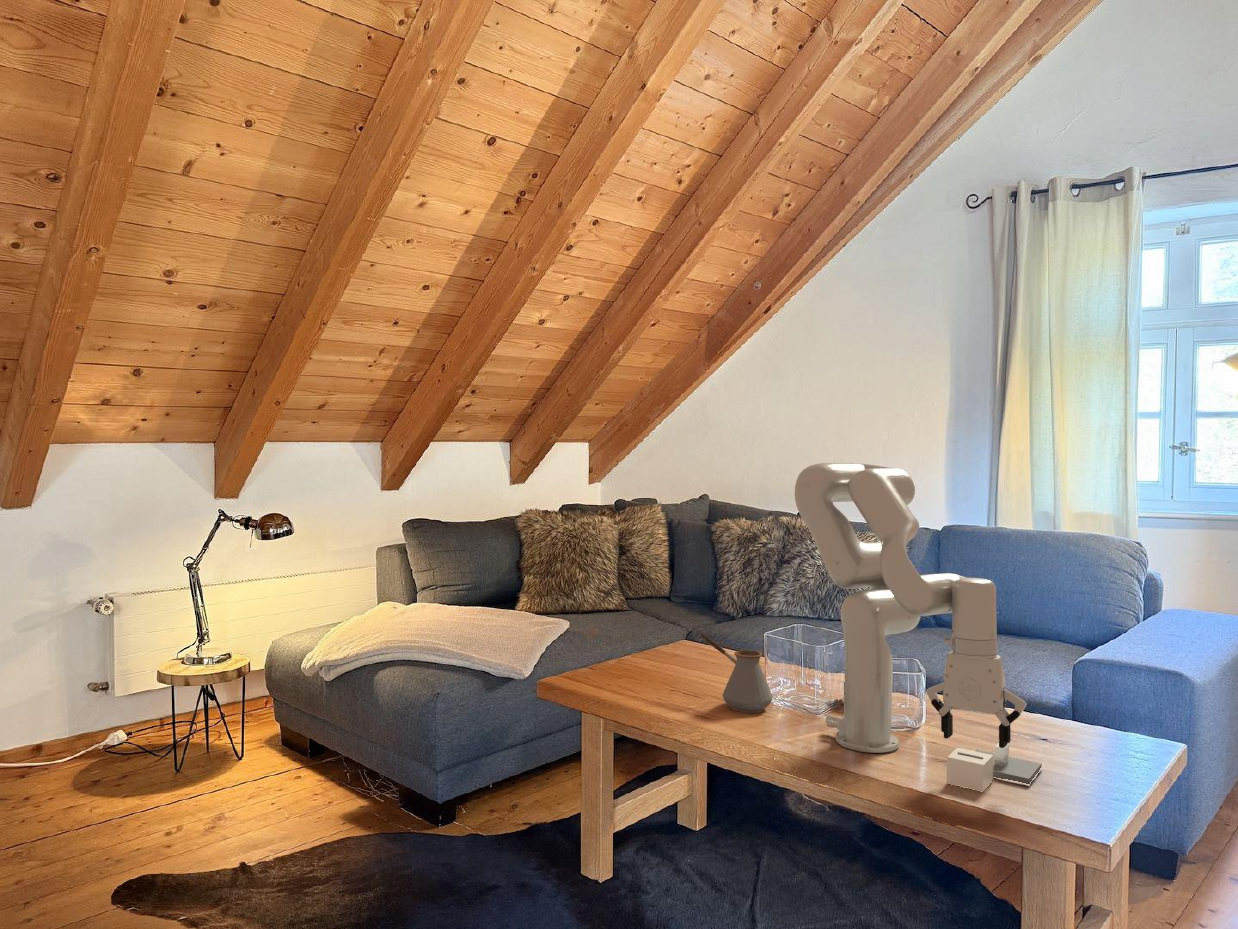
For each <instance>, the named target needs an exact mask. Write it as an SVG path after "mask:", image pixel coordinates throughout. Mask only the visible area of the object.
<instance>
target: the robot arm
mask: <svg viewBox="0 0 1238 929" xmlns="http://www.w3.org/2000/svg"><path fill="white" fill-rule="evenodd" d="M915 495H916V486H915V483H914V481H913V479H912V477H911V476H910V475H909V474H908V473H907V472H906V471H904V470H903V469H900V468H899V467H888V466H882V465H881V466H880V465H874V464H867V463H863V462H862V463H860V462H826V463H825V462H824V463H823V462H822V463H815V464H812V465H809V466H807V467H805V468H804V469H803V470H801V472H800V473H798V476H797V479H796V480H795V484H794V499H795V500H794V501H795V504H796V508H797V511H798V513H799V515H800V517H801V519H802V521H803V522H804V524H805V525H806V527H807V529H808V530H809V532H810V534H811V535H812V538H813V541H814V542H815V545H816V548H817V550H818V551H819V552H818V553H819V555H820V557H821V559H822V561H823V564H824V566H825V568H826V571H827V573H828V575H829V576H830V579H831V580H832V582H833V583H834V584H835V586H837V587H838V588H841V589H845V590H846V589H848V590H851V589H852V590H853V589H855V590H856V589H863V590H859V591H856V592H853V593H851V594H850V595H848V596H847V597H846V598H845V599H844V601H843V603H842V604H841V607H840V608H841V609H840V621H841V625H842V626H841V627H842V631H843V632H842V633H843V641H844V669H845V674H844V681H845V682H844V681H843V683H844V697H843V716H841V717H840V716H836V715H832V714H827V715H826V717H825V723H826V726H827V727H828V728H829V727H830V728H836V729H837V730H838V731H837V732H836V733H835V742H836V743H837V744H838V745H839V746H841V747H844V748H846V749H848V750H852V751H856V752H862V753H869V754H870V753H871V754H872V753H873V754H882V753H884V754H885V753H891V752H894V751H896V750H897V749H898V748H899V747H900V739H898V737H897V736H895V735H894V734H892V717H893V716H892V714H893V713H892V710H893V708H892V707H893V668H894V667H893V666H894V665H893V664H894V661H893V660H894V659H893V654H892V651H891V648H890V646H889V643H888V641H887V639H886V637H887V636H889V635H896V634H902V633H907V632H909V631H912V630H914V628H916V627H917V626H918V624H919V622H920V620H921V617H927V616H934V615H935V616H936V615H944V614H951V622H952V624H951V627H952V629H951V631H952V634H951V636H950V637H944V645H945V646H949V647H950V650H951V651H948V652H947V656H946V660H945V665H944V672H943V673H944V677H943V682H941V683H938V684H936V685H933V686H930V687H928V688H927V689H926V690H925V692H926V694H927V697H928V699H929V700H930V704H931V706H932V707H933V708H934V709H935V710H936V711H937V714H938V715H939V716H940V732H942V733H943V738H944V739H946V740H947V739H950V737H952V736H953V733H954V732H953V730H954V728H953V727H954V724H953V722H954V720H953V719H954V716H953V714H952V713H951V711H952V710H958V711H963V712H969V713H971V712H972V713H977V714H984V715H994V716H995V717H996V718H997V719H998V720H999V721H1000V724H998V725H999V726H998V743H999V747H1000V748H1004V747H1005V746H1006V745H1007V744H1010V743H1011V741H1012V740H1011V736H1012V734H1011V724H1012V723H1013V722H1014V721H1016V720H1017V719H1018V718H1019V717H1020V716H1021V715H1022V713H1023V711H1024V710H1025V708H1026V707H1027V705H1028V703H1027V701H1026V700H1024V699H1023V698H1021V697H1020V696H1018V695H1017V694H1014V693H1013V692H1011V691H1010V690H1009V689H1007V688H1006V680H1005V679H1006V678H1005V673H1004V672H1005V671H1004V665H1003V662H1002V658H1001V655H999V654H998V641H997V640H998V638H997V635H998V634H997V632H998V628H997V625H998V624H997V587H996V585H995V582H993V581H992V580H990V579H986V578H979V577H966V576H964V575H963V576H962V575H959V574H957V573H951V572H950V573H949V572H944V573H943V572H942V573H929V574H920V573H919V572H918V570H917V569H916V567H915V566H914V564H913V563H912V561H911V560H910V558H909V555H908V553H907V552H908V551H907V544H908V543H910V541H911V540H913V539H914V538H915V537H916V535H917V534H918V532H919V529H920V523H919V520H918V519H917V518H916V516H915V515H914V514H913V512H912V511H911V509H910V508H909V506H908V505H910V504H911V503H912V501H913V499H914V498H915ZM848 502H852V503H853V504H854V505H855V506H856V508H857V511H858V512H859V513H860V514H861V516H862V518H863V519H864V520H865V522H866V523H867V525H868V527H869V528H870V530H871V531H872V533H873V535H874V536H875V537H876V540H877V541H878V542H877V541H874V542H873V541H871V542H862V541H860V539H859V538H858V536H857V534H856V532H855V530H854V528H853V526H852V523H851V522H850V520H849V519H848V518H847V516H845V514H844V513H842V512H843V511H841V510H839V509H838V508H837V507H836V506H835V504H834V503H848ZM864 588H870V589H864ZM941 692H942V700H941V699H940V698H939V697H938V693H941ZM1007 701H1008V702H1010V703H1012V704H1013V705H1014V709H1013V711H1011V713H1009V712H1008V711H1007V709H1006V706H1007Z"/></svg>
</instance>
